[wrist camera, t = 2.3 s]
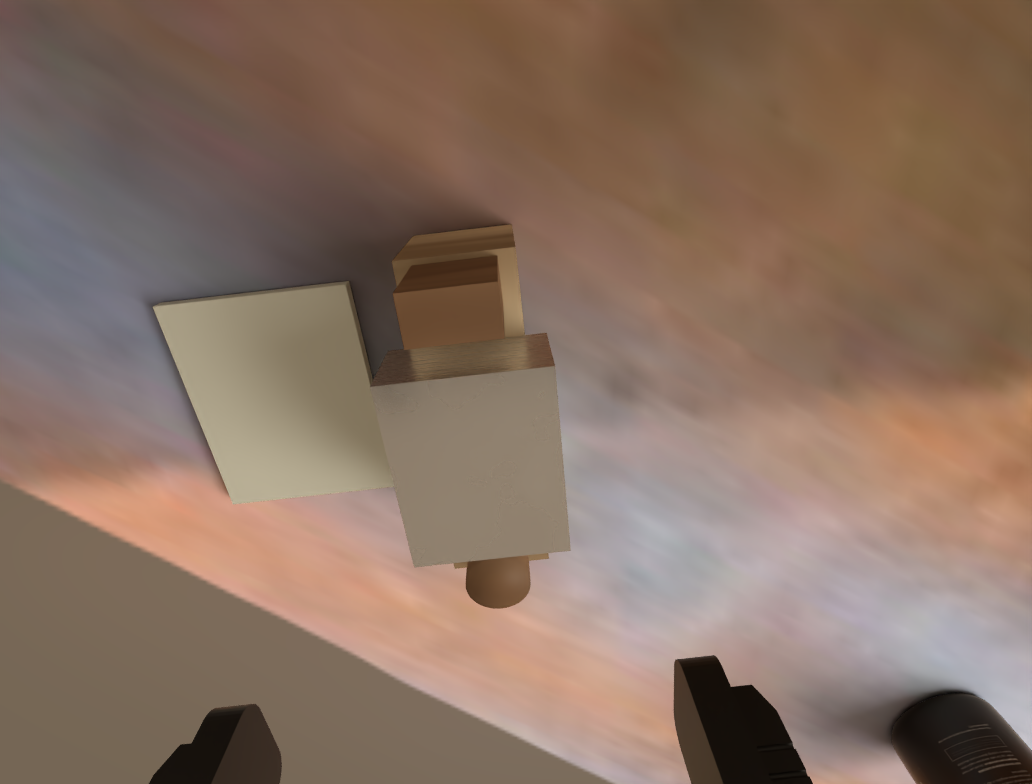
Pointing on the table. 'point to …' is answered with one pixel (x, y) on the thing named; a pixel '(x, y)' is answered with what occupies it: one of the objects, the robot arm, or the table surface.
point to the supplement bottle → (960, 743)
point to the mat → (280, 390)
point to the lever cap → (475, 448)
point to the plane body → (465, 341)
